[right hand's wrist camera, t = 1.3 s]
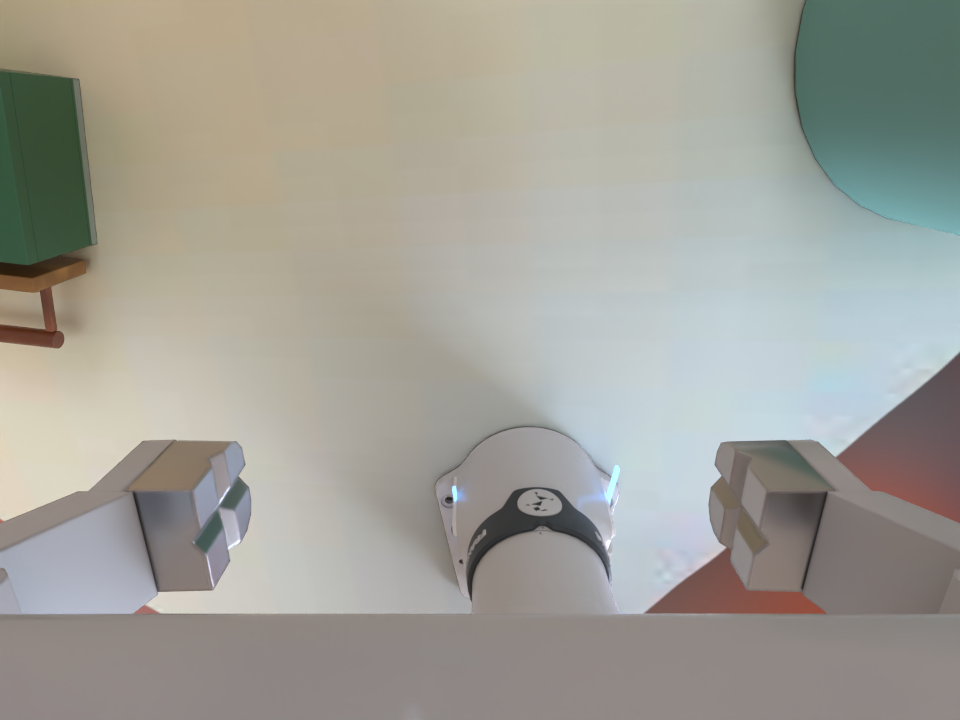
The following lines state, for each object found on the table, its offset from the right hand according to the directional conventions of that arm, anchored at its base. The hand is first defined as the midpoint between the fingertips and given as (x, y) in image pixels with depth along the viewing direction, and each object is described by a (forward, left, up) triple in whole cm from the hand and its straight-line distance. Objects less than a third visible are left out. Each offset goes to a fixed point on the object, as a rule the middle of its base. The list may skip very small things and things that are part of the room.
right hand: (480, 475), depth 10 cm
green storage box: (+3, +39, -44) cm, 58 cm away
